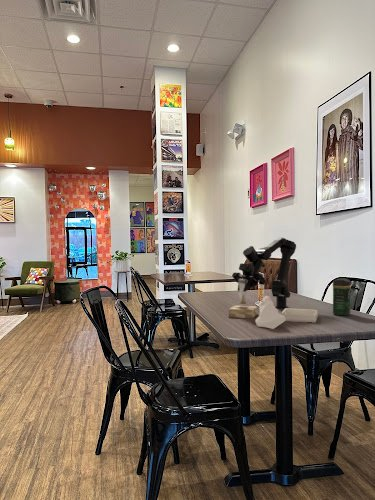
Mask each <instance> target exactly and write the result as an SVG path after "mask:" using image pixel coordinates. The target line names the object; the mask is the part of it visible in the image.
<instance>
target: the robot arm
mask: <svg viewBox="0 0 375 500" xmlns="http://www.w3.org/2000/svg"><path fill="white" fill-rule="evenodd" d="M278 249H280V253H281V259H280V263H279V268H278V273H277V277H276V279H274V280H272V283H271V286H270V288H271V289H270V290H271V293H272V294H271V295H272V297H274V298H275V299H276V300H275V303H276V304H275V305H276V306H274V307H275V308H276V309H285V308H288V307H289V306H288V305H287V304H288V302H287V299H288V298H290V297H291V292H290V291H289V289H288V283H287V276H288V271H289V267H290V262H291V257H292V256H293V255H294V254H295V252H296V250H297V244H296V243H295V242H294V241H292V240H289V239H287V238H284V237H277V238H275V239H274V240H273V241H272V242H270V243H268V245H266V246H264V247H261V248H259V249H255V246H252V245H251V246H249V247H247V248H245V249H244V250H243V251H242V254H243V256H244V257H245V258H246V260H247V262H249V263H239V265H238V270H239V271H242V273H241V272H232V274H231V277H232V278H233V280H234V281H235V282H236V283H238V285H237V292H239V281H238V279H247V281H246V286H245V288H244V290H243V291H244V292H245V291H246V292H247V291H249V290H250V289H252V288H253V287H256V286H258V284H259V285H260V286H263V285H265V284H266V279H265V277H264V275H263V274H262V273H260V270H261V269H262V268H265V267H266V266H265V265H266V264H265V262H264V261H267V260H270V258H271V257H272V254H273V253H275V251H277V250H278Z"/></svg>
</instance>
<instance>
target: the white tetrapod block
mask: <svg viewBox="0 0 375 500" xmlns="http://www.w3.org/2000/svg"><path fill="white" fill-rule="evenodd" d="M275 307H276V306H275V304H274V302H273V300H272V299H271V296H268V295H265V296H264V297H263V298H262V300H261V303H260V305H259V307H258V311H259V313H258V317H256V319H255V321H254V322H255V324H256V326H257V327H259V328H267V329H270V330H271V329H272V330H275V328H277V327H278V326H280V325H281V324H283V323H284V322H287V321H286V319H285V316H283V315H281V313H280V312H279V310H278V308H275Z"/></svg>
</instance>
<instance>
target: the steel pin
mask: <svg viewBox="0 0 375 500" xmlns="http://www.w3.org/2000/svg"><path fill="white" fill-rule="evenodd" d="M238 281H239V291H238V292H239V295H238V297H239V304H241V305H247V303H248V302H247V297H248V296H247V295H248V294H247V291H245V292H244V291H243V290H244V288H245V286H246V284H247V282H248V280H247V279H238Z"/></svg>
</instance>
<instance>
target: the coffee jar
mask: <svg viewBox="0 0 375 500" xmlns="http://www.w3.org/2000/svg"><path fill="white" fill-rule="evenodd" d="M332 314H333V315H337V316H339V315H342V316H349V315H350V314H351V281H350V279H348V278H345V277H344V278H343V277H340V278H336V279H334V280H332Z"/></svg>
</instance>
